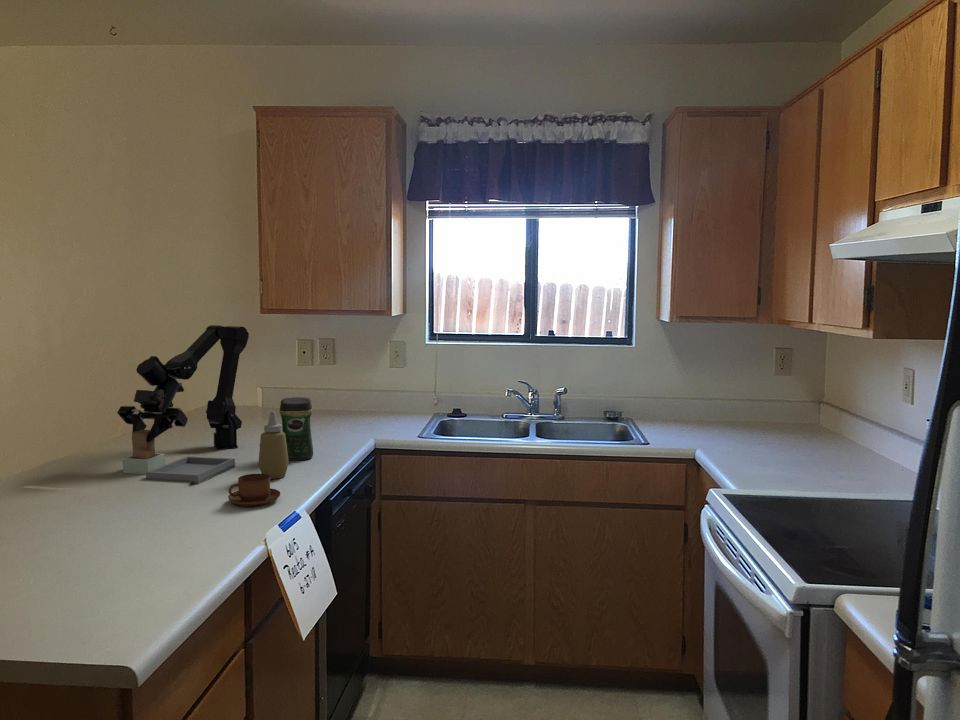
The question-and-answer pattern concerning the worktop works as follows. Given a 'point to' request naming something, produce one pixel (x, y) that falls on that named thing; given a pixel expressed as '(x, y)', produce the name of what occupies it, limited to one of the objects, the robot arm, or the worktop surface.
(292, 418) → the coffee jar
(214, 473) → the tray
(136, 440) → the square block
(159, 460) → the mint green open box
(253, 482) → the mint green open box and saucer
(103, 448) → the worktop surface
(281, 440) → the squeeze bottle
